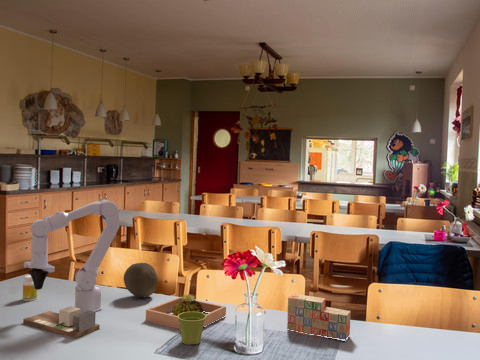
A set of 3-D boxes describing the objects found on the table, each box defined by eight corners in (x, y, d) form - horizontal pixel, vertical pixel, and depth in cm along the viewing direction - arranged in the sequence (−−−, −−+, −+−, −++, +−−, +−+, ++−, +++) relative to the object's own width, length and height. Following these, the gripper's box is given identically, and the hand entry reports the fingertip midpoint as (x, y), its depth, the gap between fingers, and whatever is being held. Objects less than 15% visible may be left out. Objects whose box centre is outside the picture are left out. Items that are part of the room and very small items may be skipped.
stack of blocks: (350, 337, 164) (351, 302, 164) (345, 342, 159) (347, 306, 159) (292, 325, 174) (293, 292, 174) (286, 330, 169) (287, 296, 168)
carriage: (70, 319, 166) (70, 306, 166) (80, 322, 164) (80, 308, 164) (51, 326, 159) (51, 312, 159) (61, 329, 157) (61, 314, 157)
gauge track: (49, 315, 176) (49, 297, 176) (99, 329, 163) (99, 310, 163) (23, 323, 167) (23, 304, 166) (74, 338, 154) (74, 318, 154)
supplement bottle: (31, 301, 192) (31, 278, 191) (19, 300, 193) (20, 277, 193) (39, 298, 197) (40, 275, 197) (28, 297, 198) (28, 274, 198)
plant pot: (193, 349, 148) (194, 322, 148) (170, 342, 153) (171, 316, 153) (211, 340, 156) (211, 315, 156) (188, 334, 161) (189, 309, 161)
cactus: (158, 326, 169) (158, 299, 169) (171, 312, 185) (172, 288, 185) (204, 330, 166) (205, 303, 166) (214, 316, 182) (215, 291, 182)
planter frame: (179, 306, 192) (180, 296, 192) (225, 316, 181) (226, 306, 181) (145, 320, 174) (145, 309, 174) (194, 332, 163) (194, 321, 163)
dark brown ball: (146, 291, 213) (147, 258, 213) (163, 298, 203) (164, 264, 202) (117, 296, 204) (118, 262, 203) (134, 304, 193) (135, 268, 193)
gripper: (17, 251, 173) (16, 288, 174) (43, 256, 166) (42, 294, 167) (33, 249, 179) (33, 284, 180) (59, 253, 172) (58, 290, 173)
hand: (38, 289), depth 174 cm, fingers closed
